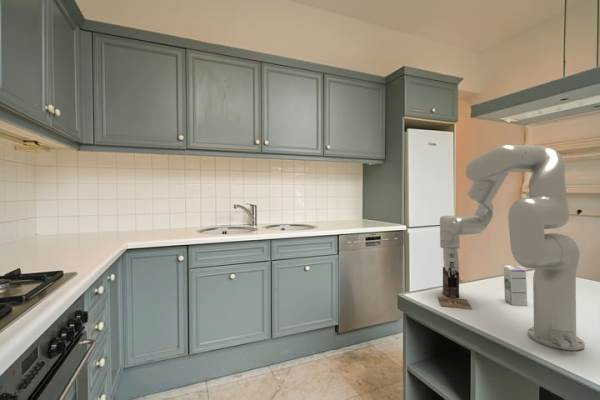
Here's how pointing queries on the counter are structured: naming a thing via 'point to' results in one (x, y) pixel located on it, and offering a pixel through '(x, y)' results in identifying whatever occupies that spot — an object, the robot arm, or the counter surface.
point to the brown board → (454, 303)
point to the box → (450, 291)
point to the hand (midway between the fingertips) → (450, 283)
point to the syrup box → (515, 285)
